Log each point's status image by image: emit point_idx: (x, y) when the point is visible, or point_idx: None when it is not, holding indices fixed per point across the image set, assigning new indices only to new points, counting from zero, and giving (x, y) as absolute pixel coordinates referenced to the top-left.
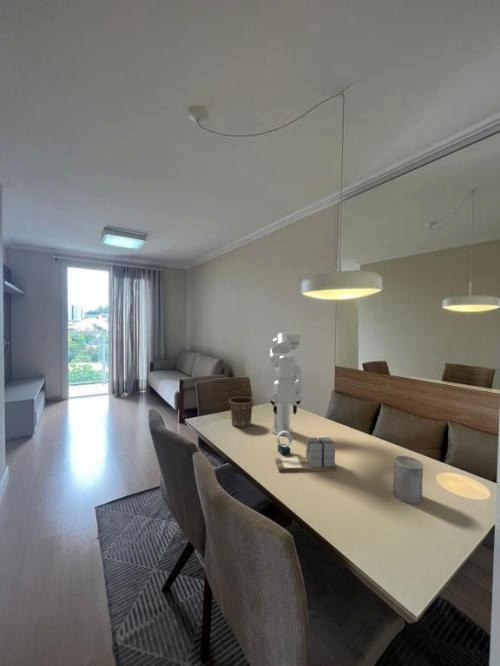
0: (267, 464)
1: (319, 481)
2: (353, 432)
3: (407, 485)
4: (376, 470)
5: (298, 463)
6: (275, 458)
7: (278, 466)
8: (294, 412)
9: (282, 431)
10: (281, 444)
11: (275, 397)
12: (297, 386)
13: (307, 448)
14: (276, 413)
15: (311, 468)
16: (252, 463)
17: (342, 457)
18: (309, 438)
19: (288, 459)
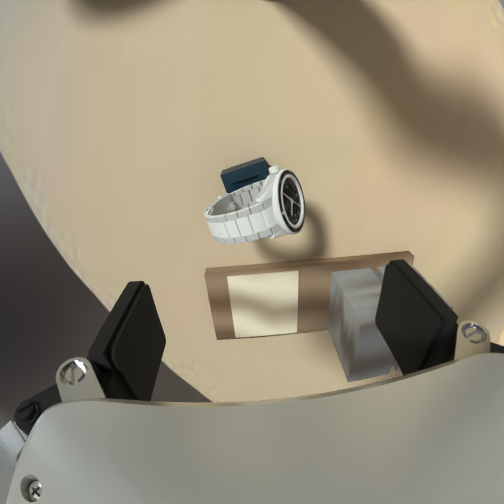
0: (177, 291)
1: (325, 360)
2: None
3: None
4: (473, 295)
5: (291, 312)
6: (205, 277)
7: (215, 328)
8: (382, 334)
9: (241, 226)
10: (241, 170)
11: (27, 443)
12: None
13: (345, 318)
14: (161, 347)
15: (326, 328)
16: (126, 285)
17: (452, 230)
18: (372, 332)
19: (258, 287)
